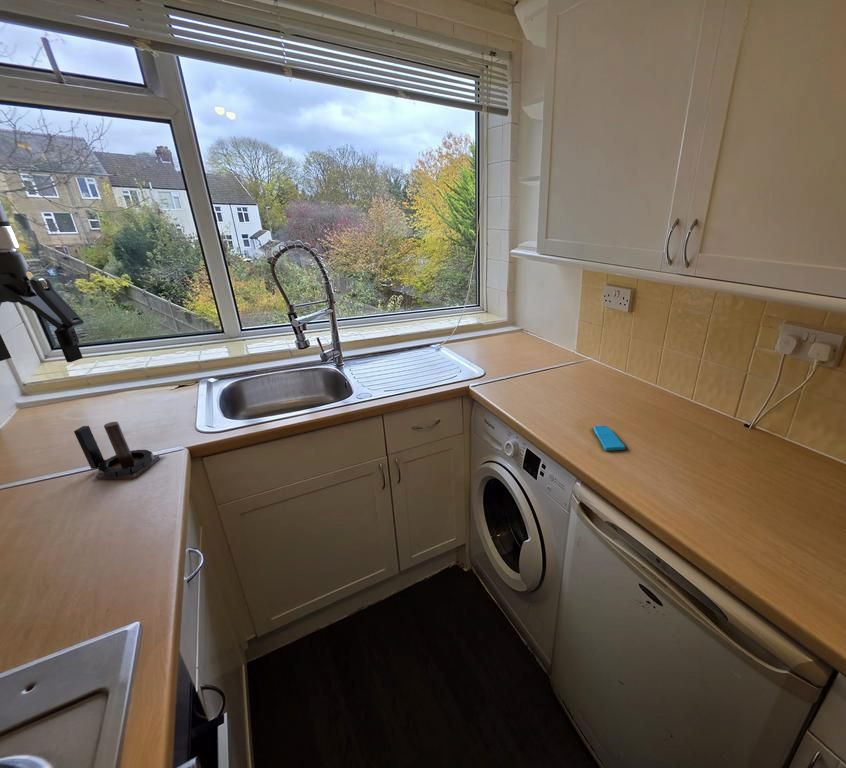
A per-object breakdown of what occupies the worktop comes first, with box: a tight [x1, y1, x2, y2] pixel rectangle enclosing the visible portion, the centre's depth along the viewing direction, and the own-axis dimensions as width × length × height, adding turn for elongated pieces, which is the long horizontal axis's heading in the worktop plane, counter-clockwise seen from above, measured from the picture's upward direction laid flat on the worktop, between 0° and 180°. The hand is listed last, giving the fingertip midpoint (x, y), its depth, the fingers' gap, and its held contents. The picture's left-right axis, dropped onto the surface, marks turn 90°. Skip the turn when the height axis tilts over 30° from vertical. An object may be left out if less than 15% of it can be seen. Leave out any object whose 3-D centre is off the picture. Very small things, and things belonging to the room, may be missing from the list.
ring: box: [73, 425, 155, 477], centre depth 93 cm, size 12×9×10 cm
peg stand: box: [95, 421, 161, 480], centre depth 93 cm, size 8×8×12 cm
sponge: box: [593, 425, 626, 452], centre depth 112 cm, size 2×12×6 cm
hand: (39, 360), depth 83 cm, fingers open, 13 cm apart
